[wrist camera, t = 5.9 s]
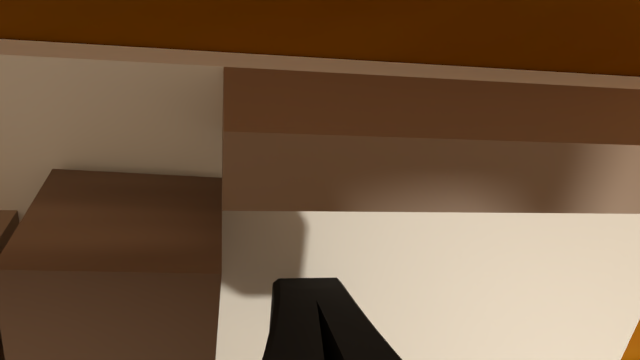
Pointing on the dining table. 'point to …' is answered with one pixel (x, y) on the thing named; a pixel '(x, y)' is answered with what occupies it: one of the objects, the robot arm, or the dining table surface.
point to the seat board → (365, 185)
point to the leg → (114, 269)
